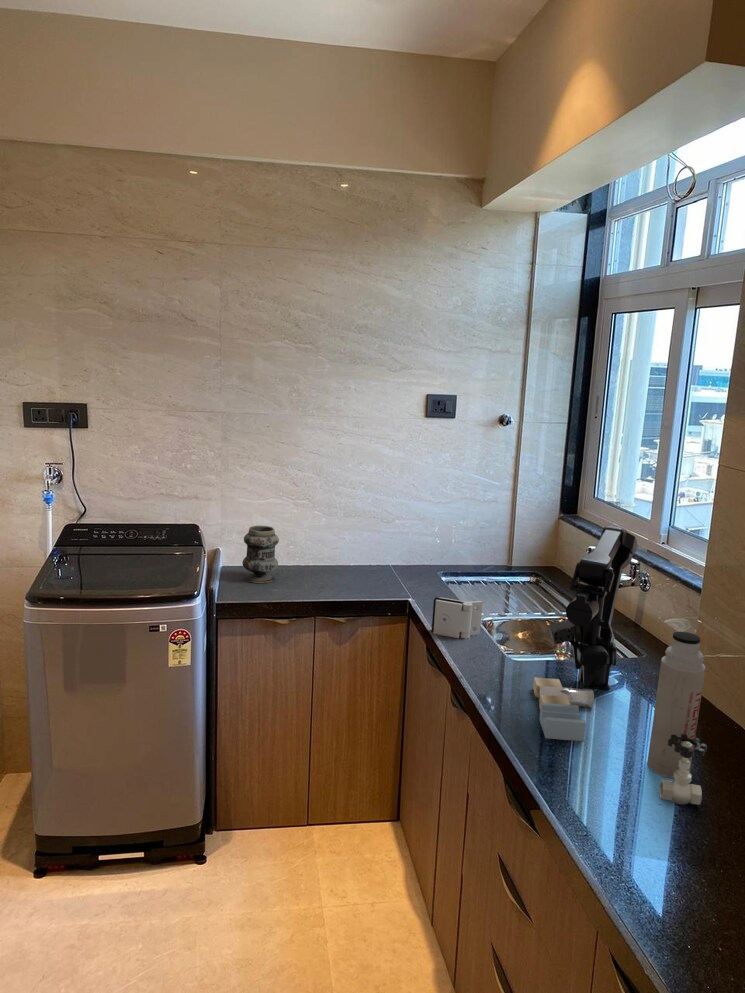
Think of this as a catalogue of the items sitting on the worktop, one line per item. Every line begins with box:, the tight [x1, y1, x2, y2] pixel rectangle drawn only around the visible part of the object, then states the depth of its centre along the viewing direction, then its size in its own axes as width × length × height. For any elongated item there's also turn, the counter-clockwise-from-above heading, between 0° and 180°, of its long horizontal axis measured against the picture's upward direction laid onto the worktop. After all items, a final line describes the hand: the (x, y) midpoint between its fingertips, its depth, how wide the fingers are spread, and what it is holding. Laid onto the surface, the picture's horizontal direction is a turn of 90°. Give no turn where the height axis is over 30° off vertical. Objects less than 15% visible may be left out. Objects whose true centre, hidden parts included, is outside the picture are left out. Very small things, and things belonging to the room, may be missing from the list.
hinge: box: [431, 596, 484, 640], centre depth 213 cm, size 14×5×10 cm, turn 83°
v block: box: [539, 703, 587, 742], centre depth 161 cm, size 8×8×4 cm
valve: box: [658, 734, 708, 806], centre depth 136 cm, size 7×7×12 cm
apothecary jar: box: [241, 525, 280, 584], centre depth 253 cm, size 12×12×18 cm
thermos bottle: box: [646, 631, 706, 779], centre depth 146 cm, size 8×8×28 cm
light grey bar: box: [537, 686, 595, 708], centre depth 174 cm, size 12×4×4 cm, turn 87°
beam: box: [532, 676, 570, 711], centre depth 174 cm, size 6×14×3 cm, turn 177°
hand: (581, 677), depth 173 cm, fingers open, 9 cm apart
